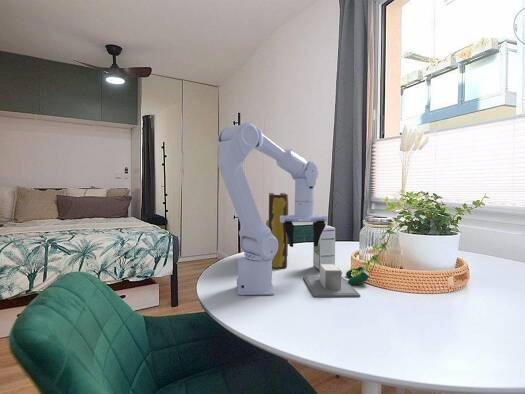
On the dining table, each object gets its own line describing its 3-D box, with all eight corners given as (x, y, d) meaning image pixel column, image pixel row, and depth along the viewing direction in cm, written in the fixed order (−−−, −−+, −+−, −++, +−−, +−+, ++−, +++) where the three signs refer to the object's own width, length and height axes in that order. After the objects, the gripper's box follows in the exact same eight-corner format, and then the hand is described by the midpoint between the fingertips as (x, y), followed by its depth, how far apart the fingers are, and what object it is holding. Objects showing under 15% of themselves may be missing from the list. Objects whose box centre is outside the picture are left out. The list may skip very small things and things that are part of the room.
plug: (325, 289, 80) (326, 271, 80) (317, 278, 90) (318, 261, 89) (340, 289, 80) (341, 270, 80) (331, 278, 90) (331, 261, 90)
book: (290, 269, 102) (291, 195, 100) (265, 268, 102) (266, 194, 101) (286, 253, 124) (287, 192, 123) (265, 253, 124) (266, 192, 123)
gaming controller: (356, 292, 86) (372, 279, 85) (347, 282, 86) (363, 268, 85) (353, 282, 95) (367, 269, 94) (344, 273, 95) (359, 260, 94)
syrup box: (335, 270, 100) (336, 227, 100) (319, 271, 99) (320, 227, 98) (327, 265, 106) (328, 224, 105) (312, 266, 105) (313, 225, 104)
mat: (314, 297, 77) (314, 294, 77) (303, 278, 92) (303, 276, 92) (360, 296, 77) (360, 294, 77) (342, 278, 92) (342, 276, 92)
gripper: (283, 202, 86) (282, 249, 87) (332, 202, 88) (331, 248, 89) (278, 200, 93) (278, 244, 94) (323, 200, 95) (322, 243, 96)
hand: (303, 245), depth 92 cm, fingers open, 7 cm apart
